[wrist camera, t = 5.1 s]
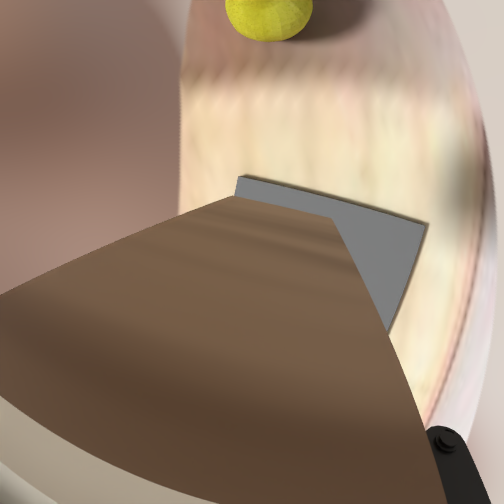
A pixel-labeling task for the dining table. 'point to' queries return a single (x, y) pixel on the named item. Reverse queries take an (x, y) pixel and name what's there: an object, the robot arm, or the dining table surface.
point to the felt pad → (356, 238)
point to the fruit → (269, 18)
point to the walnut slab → (208, 372)
